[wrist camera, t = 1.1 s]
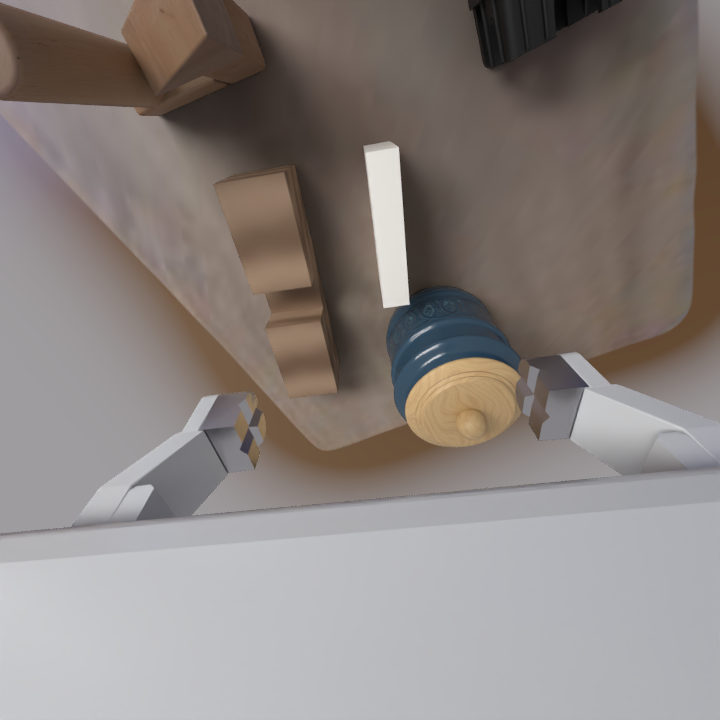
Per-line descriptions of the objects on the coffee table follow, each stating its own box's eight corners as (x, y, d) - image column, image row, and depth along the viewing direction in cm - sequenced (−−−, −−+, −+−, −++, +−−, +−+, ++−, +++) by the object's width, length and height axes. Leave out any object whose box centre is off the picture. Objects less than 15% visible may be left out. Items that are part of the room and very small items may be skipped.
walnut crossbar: (234, 174, 33) (213, 184, 28) (294, 164, 33) (283, 172, 28) (296, 369, 47) (289, 398, 42) (339, 363, 46) (337, 392, 42)
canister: (380, 291, 40) (394, 387, 26) (491, 275, 39) (569, 366, 25) (390, 376, 48) (405, 487, 33) (483, 364, 47) (540, 474, 33)
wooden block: (268, 69, 29) (177, 17, 14) (159, 117, 30) (-23, 116, 16) (246, 10, 27) (113, -123, 12) (131, 65, 28) (-108, 10, 14)
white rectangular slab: (363, 145, 32) (365, 152, 25) (389, 141, 32) (398, 147, 25) (379, 276, 39) (383, 308, 33) (400, 273, 39) (409, 304, 33)
